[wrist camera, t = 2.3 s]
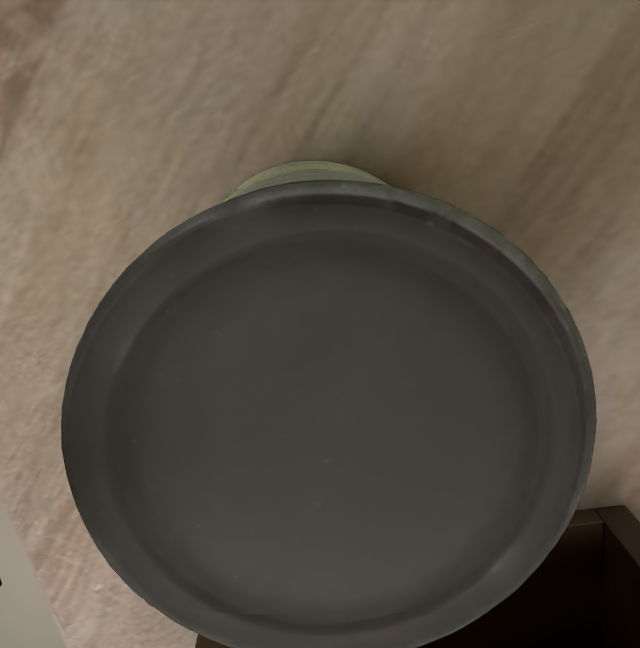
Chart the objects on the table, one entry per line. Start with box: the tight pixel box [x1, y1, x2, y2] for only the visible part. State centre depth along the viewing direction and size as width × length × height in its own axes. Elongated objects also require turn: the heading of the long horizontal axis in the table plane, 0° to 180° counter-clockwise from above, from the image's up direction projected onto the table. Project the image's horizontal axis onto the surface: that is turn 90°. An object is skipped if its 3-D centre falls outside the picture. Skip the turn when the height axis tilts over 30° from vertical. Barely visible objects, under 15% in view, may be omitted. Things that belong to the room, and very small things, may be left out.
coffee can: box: [61, 161, 597, 648], centre depth 18 cm, size 10×10×14 cm
